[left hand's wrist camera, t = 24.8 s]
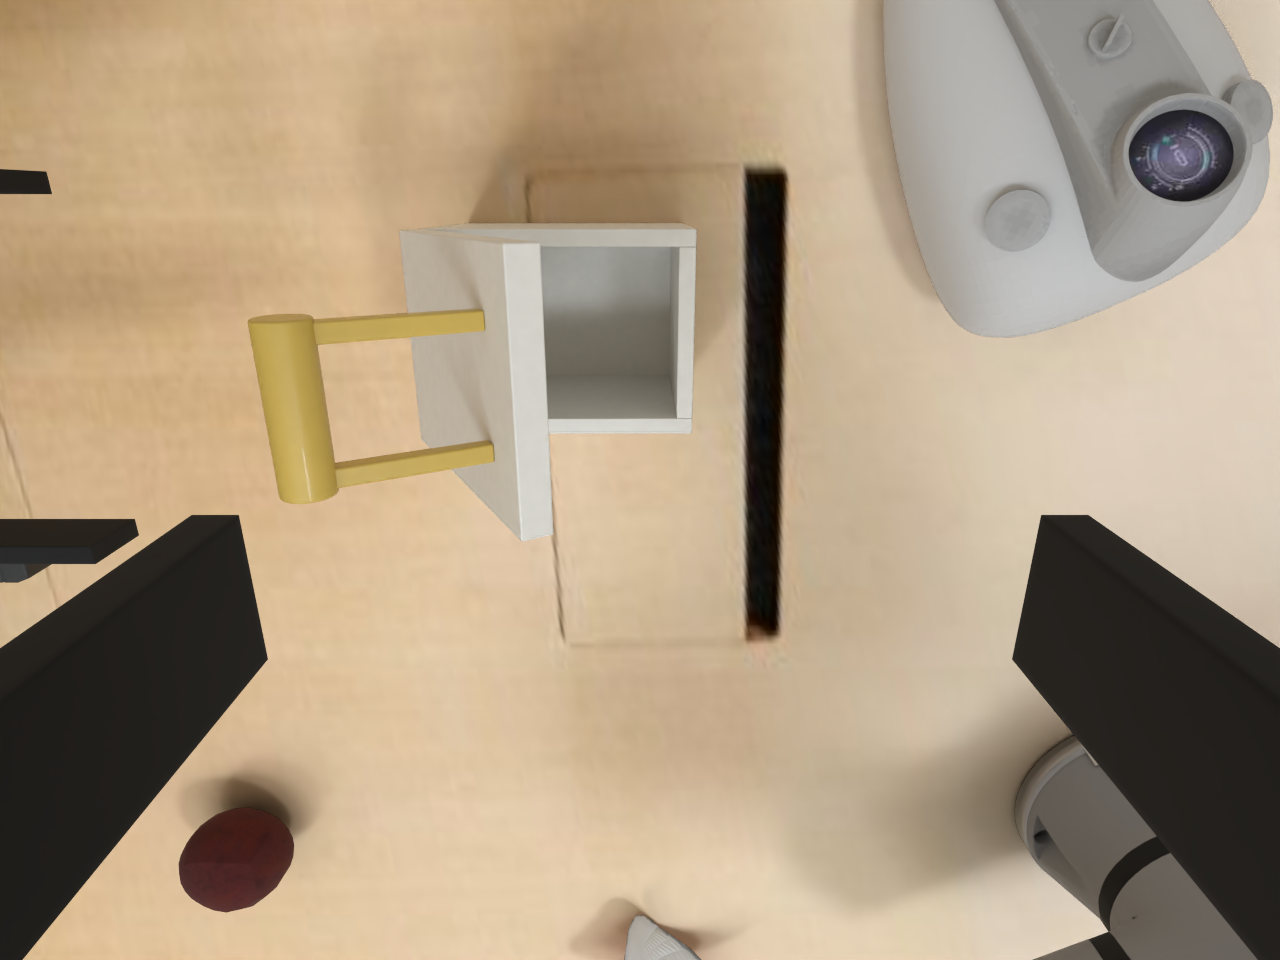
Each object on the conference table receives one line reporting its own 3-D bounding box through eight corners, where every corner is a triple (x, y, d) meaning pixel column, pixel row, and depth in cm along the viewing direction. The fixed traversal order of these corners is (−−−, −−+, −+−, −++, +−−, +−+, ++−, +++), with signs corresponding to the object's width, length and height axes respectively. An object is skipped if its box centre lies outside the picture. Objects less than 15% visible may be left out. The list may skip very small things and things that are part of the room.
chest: (683, 223, 45) (696, 228, 35) (680, 385, 48) (691, 433, 38) (467, 223, 45) (416, 229, 35) (479, 385, 48) (436, 434, 38)
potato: (203, 787, 59) (149, 860, 53) (301, 787, 59) (258, 860, 53) (221, 857, 62) (171, 935, 55) (314, 858, 62) (275, 936, 55)
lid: (540, 241, 23) (238, 249, 19) (554, 535, 26) (299, 591, 23) (425, 229, 34) (220, 232, 30) (445, 436, 38) (263, 462, 34)
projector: (1302, -35, 40) (1646, -159, 26) (1095, 369, 48) (1279, 436, 34) (922, -180, 38) (1082, -397, 24) (769, 267, 46) (825, 295, 32)
